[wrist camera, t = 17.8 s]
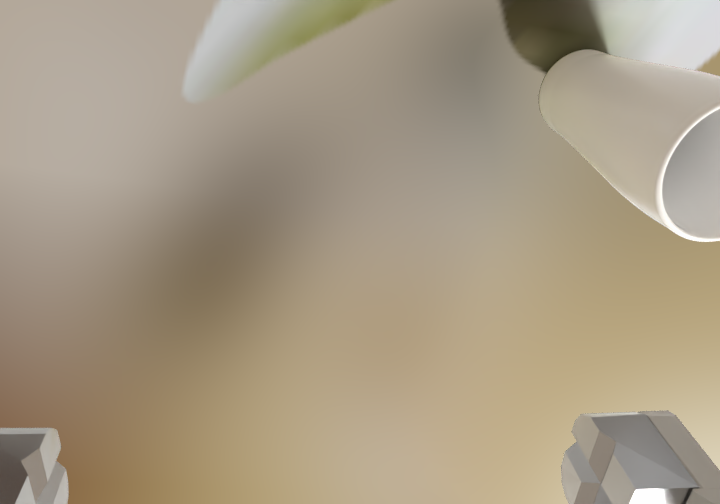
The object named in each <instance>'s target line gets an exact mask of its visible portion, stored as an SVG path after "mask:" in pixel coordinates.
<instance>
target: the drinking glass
mask: <svg viewBox="0 0 720 504" xmlns="http://www.w3.org/2000/svg"><path fill="white" fill-rule="evenodd" d="M539 108H540V112H541V115H542V117H543V119H544V121H545V122H546V123H547V125H548V126H549V127H550V128H551V129H553V130H554V131H555V132H557V133H558V134H559V135H561V136H562V137H563V138H564V139H565V140H566V141H567V142H568V143H570V145H572V146H573V147H574V148H575V149H576V150H577V151H578V152H579V153H580V154H581V155H582V156H583V157H584V158H585V159H586V160H587V161H588V162H589V163H590V164H591V165H592V166H593V167H594V168H595V169H596V170H597V171H598V172H599V173H600V174H601V175H602V176H603V177H604V178H605V179H606V180H607V181H608V182H609V183H610V184H611V185H612V186H613V187H614V188H615V189H616V190H617V191H618V192H619V193H620V194H622V195H623V196H624V197H625V198H626V199H628V201H630V202H631V203H632V204H633V205H635V206H636V207H637V208H639V209H640V210H641V211H642V212H644V213H645V214H647V215H648V216H649V217H651V218H653V219H654V220H656V221H657V222H659V223H660V224H662V225H663V226H665V227H667V228H668V229H670V230H671V231H673V232H674V233H676V234H677V235H679V236H681V237H683V238H687V239H689V240H694V241H701V242H711V241H719V240H720V76H717V75H713V74H709V73H705V72H701V71H696V70H691V69H685V68H680V67H674V66H668V65H662V64H656V63H651V62H645V61H640V60H634V59H629V58H624V57H618V56H613V55H610V54H607V53H604V52H601V51H597V50H589V49H587V50H579V51H575V52H572V53H570V54H568V55H566V56H564V57H562V58H561V59H560V60H558V61H557V62H556V63H555V64H554V65H553V66H552V67H551V68H550V70H549V71H548V72H547V74H546V75H545V77H544V79H543V81H542V84H541V87H540V91H539Z"/></svg>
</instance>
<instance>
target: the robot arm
mask: <svg viewBox="0 0 720 504" xmlns="http://www.w3.org/2000/svg"><path fill="white" fill-rule="evenodd" d="M572 433H573V435H574V437H575V438H576V440H577V442H576V443H574V444H573V445H572V446H571V447H570V448H569V449H568V450H566V451H565V454H564V458H563V462H562V465H561V473H562V485H563V489H564V492H565V496H566V498H567V500H568V503H569V504H720V470H719V469H718V468H717V467H716V465H715V464H714V463H713V462H712V460H711V459H710V458H709V457H708V455H707V454H706V453H705V451H704V450H703V449H702V448H701V446H700V445H699V444H698V443H697V441H696V440H695V439H694V438H693V437H692V435H691V434H690V433H689V431H688V430H687V429H686V428H685V426H684V425H683V424H682V422H681V421H680V420H679V419H678V417H677V416H676V415H674V414H673V413H671V412H669V411H642V412H620V413H593V414H581V415H580V416H579V417H578V418H577V419H576V420H575V423H574V426H573V429H572ZM60 449H61V444H60V440H59V436H58V432H57V430H55V429H53V428H0V504H67V501H68V478H67V473H66V469H65V468H64V467H63V466H62V465H60V464H59V463H58V462H57V461H56V459H57V457H58V454H59V452H60Z"/></svg>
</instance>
